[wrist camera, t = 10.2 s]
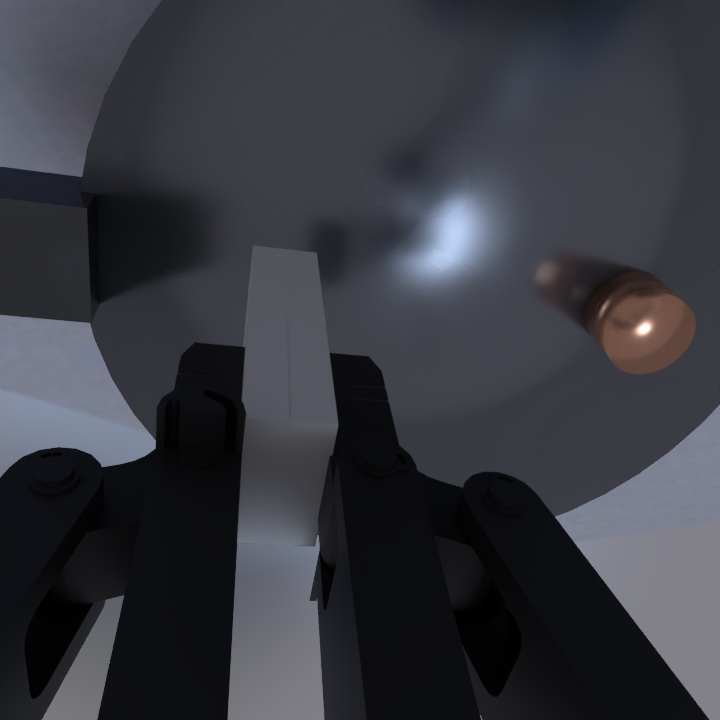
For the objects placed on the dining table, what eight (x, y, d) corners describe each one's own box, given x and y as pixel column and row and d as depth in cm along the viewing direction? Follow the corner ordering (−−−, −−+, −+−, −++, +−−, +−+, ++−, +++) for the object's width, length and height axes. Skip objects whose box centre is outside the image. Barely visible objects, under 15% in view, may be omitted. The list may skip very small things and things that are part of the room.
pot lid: (-201, -330, 12) (-313, -389, 10) (948, -60, 17) (1058, -56, 14) (-46, 500, 23) (-83, 568, 20) (635, 531, 27) (669, 589, 25)
